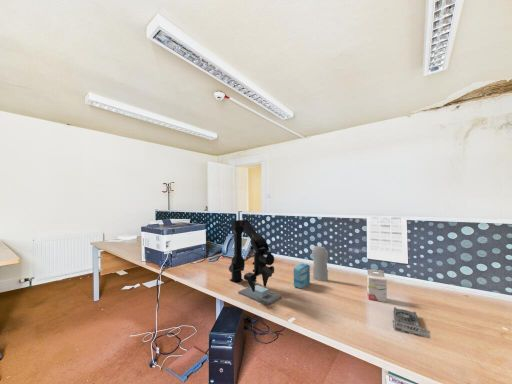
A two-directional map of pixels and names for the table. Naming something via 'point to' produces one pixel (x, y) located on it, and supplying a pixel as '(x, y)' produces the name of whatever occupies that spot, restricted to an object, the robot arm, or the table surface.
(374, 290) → the ink cartridge box
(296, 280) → the data package
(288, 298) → the table surface
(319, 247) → the tall pale column
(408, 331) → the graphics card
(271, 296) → the mat
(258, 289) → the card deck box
